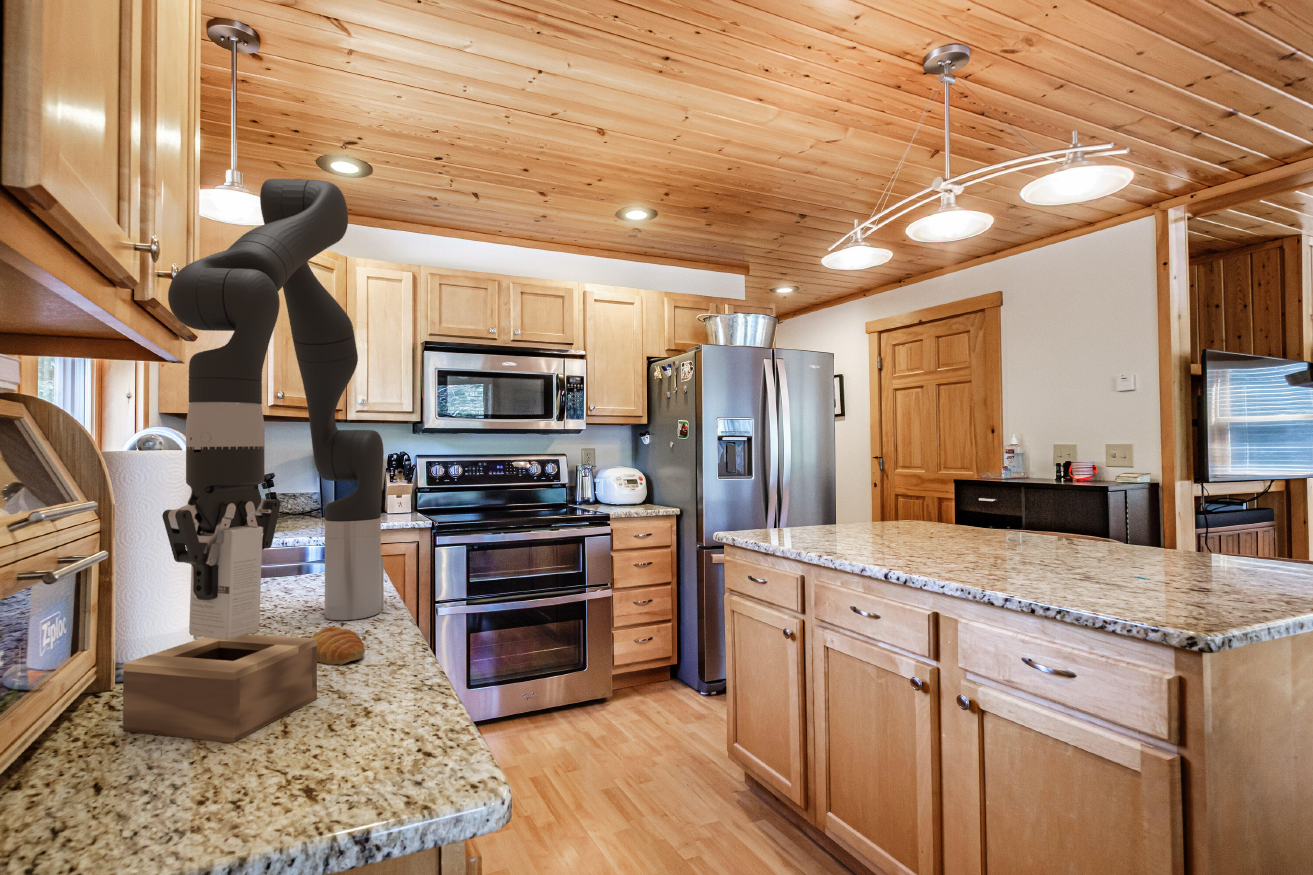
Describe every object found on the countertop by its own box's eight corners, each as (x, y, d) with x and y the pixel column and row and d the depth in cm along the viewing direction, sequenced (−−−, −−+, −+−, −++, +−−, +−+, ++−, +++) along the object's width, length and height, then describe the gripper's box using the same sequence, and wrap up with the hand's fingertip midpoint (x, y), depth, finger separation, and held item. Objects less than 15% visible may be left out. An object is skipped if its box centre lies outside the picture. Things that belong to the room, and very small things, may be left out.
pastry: (377, 659, 95) (377, 632, 95) (329, 672, 90) (329, 643, 90) (346, 646, 101) (346, 621, 101) (300, 658, 96) (299, 631, 96)
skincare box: (186, 636, 74) (186, 528, 74) (223, 625, 79) (223, 523, 79) (228, 641, 72) (228, 530, 72) (264, 629, 77) (264, 525, 77)
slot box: (219, 690, 83) (219, 632, 83) (316, 698, 80) (316, 638, 80) (123, 730, 71) (123, 663, 71) (233, 742, 68) (233, 672, 68)
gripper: (249, 443, 83) (249, 579, 83) (138, 444, 69) (138, 607, 69) (300, 443, 82) (301, 582, 82) (197, 443, 68) (198, 611, 68)
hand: (226, 593), depth 75 cm, fingers closed on skincare box, 4 cm apart
